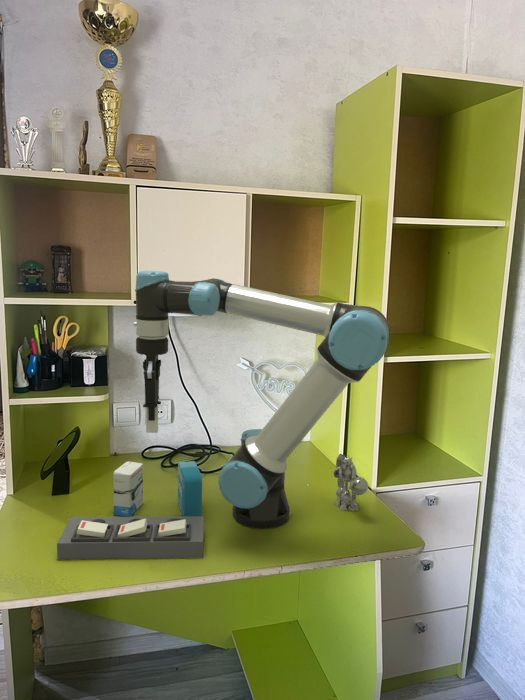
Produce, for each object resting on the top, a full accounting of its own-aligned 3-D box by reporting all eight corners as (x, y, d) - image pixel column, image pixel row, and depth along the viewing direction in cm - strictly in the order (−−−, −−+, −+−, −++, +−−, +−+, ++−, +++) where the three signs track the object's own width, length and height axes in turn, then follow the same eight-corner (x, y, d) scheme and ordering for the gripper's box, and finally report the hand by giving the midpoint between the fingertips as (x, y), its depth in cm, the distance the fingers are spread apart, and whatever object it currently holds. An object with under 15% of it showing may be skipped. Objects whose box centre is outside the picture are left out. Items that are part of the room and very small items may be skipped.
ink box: (130, 517, 142) (130, 474, 140) (112, 515, 143) (112, 472, 141) (144, 503, 150) (143, 462, 148) (127, 501, 151) (126, 460, 149)
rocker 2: (186, 523, 129) (185, 518, 129) (185, 532, 125) (184, 527, 125) (161, 528, 129) (160, 523, 128) (159, 537, 125) (158, 531, 125)
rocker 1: (107, 528, 128) (108, 523, 127) (103, 537, 124) (104, 532, 123) (80, 524, 127) (81, 519, 127) (76, 533, 123) (77, 528, 123)
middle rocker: (147, 522, 128) (145, 517, 128) (145, 531, 124) (143, 526, 124) (122, 530, 128) (120, 525, 128) (119, 538, 124) (117, 533, 124)
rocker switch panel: (203, 531, 137) (203, 513, 136) (202, 557, 125) (203, 538, 124) (71, 532, 134) (70, 514, 133) (57, 560, 122) (56, 540, 121)
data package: (177, 501, 152) (177, 460, 150) (193, 499, 154) (194, 459, 151) (184, 522, 141) (184, 478, 139) (201, 520, 142) (202, 476, 140)
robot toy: (371, 520, 146) (375, 466, 143) (350, 522, 144) (354, 468, 141) (346, 495, 159) (350, 446, 157) (327, 498, 158) (330, 448, 155)
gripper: (139, 332, 137) (140, 423, 141) (132, 340, 124) (132, 440, 128) (170, 332, 138) (169, 423, 142) (165, 341, 125) (165, 440, 129)
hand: (152, 431), depth 135 cm, fingers closed
